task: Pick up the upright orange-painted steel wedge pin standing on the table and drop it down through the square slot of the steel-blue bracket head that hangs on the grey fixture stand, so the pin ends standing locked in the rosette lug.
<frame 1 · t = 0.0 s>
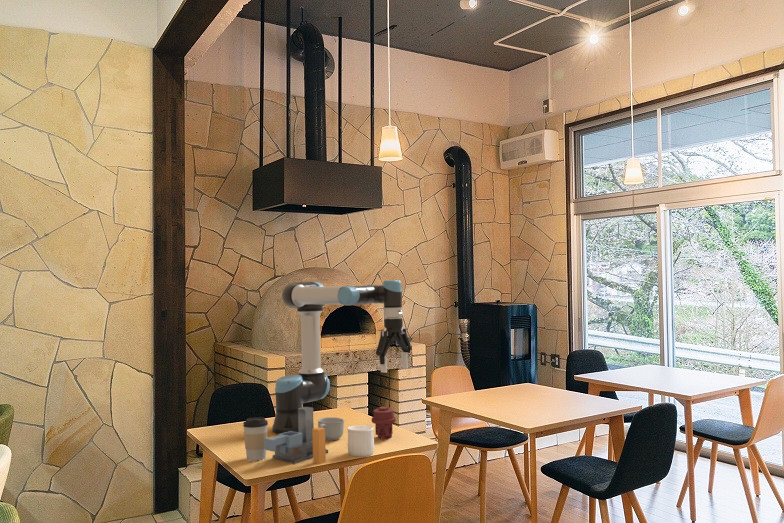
hand: (394, 370, 260), 28 cm above the table, fingers open, 13 cm apart
wedge pin: (319, 462, 230), on the table
grey fixture stand: (306, 453, 241), on the table
cup: (361, 454, 240), on the table
mechanical component: (384, 438, 263), on the table
coffee cup: (256, 459, 236), on the table
teacup: (328, 440, 262), on the table
bracket: (283, 444, 232), point 6 cm above the table
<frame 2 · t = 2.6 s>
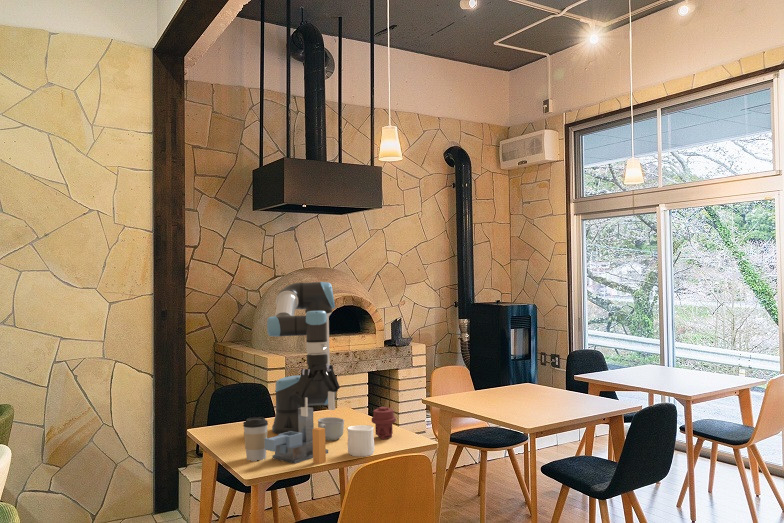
hand: (318, 412, 230), 18 cm above the table, fingers open, 13 cm apart
nothing on the table moved.
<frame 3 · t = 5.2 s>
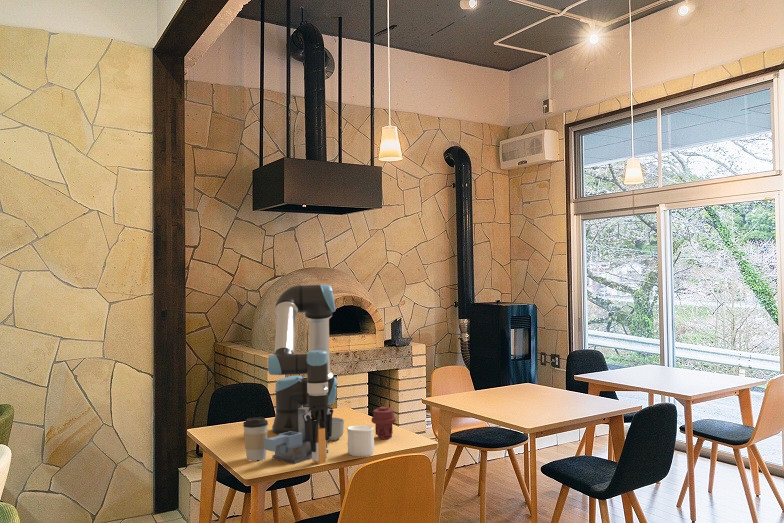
hand: (319, 459, 230), 1 cm above the table, fingers closed on wedge pin, 3 cm apart
wedge pin: (319, 462, 230), on the table, touching gripper
everything else where it was.
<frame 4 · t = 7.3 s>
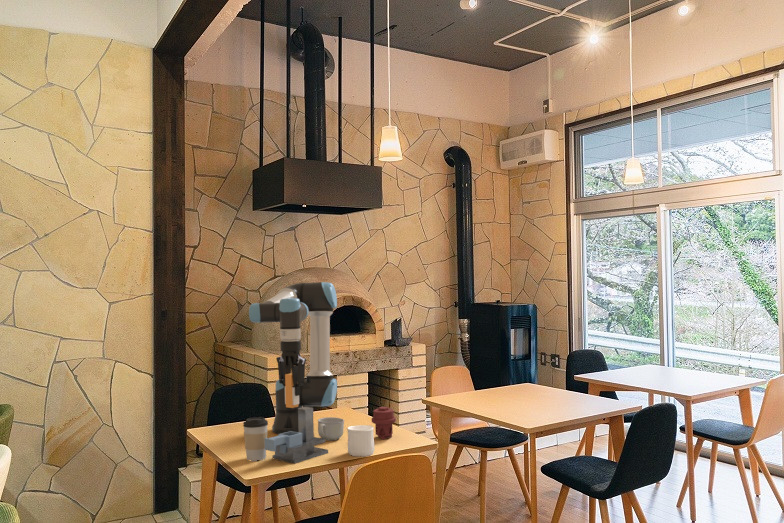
hand: (292, 403, 235), 20 cm above the table, fingers closed on wedge pin, 3 cm apart
wedge pin: (292, 406, 235), point 19 cm above the table, touching gripper
everything else where it was.
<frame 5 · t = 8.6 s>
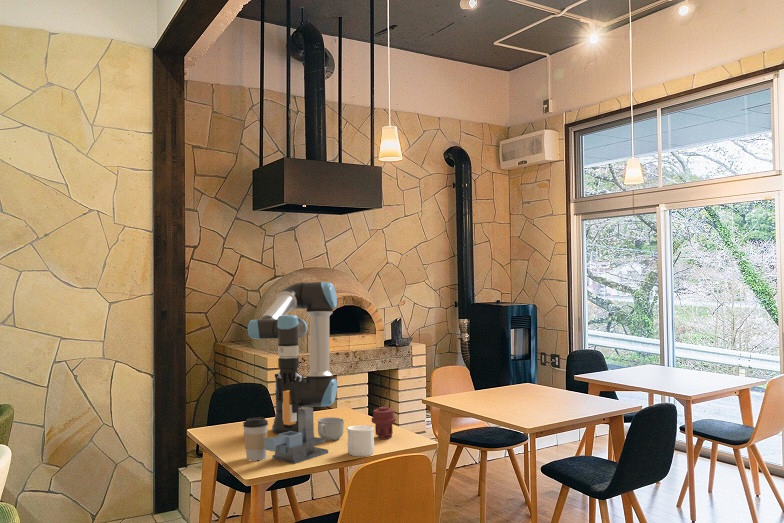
hand: (289, 420, 235), 14 cm above the table, fingers closed on wedge pin, 3 cm apart
wedge pin: (289, 423, 235), point 13 cm above the table, touching gripper
everything else where it was.
when the fingers open (11 cm above the table, at t = 9.7 s): wedge pin drops 9 cm, resting on grey fixture stand.
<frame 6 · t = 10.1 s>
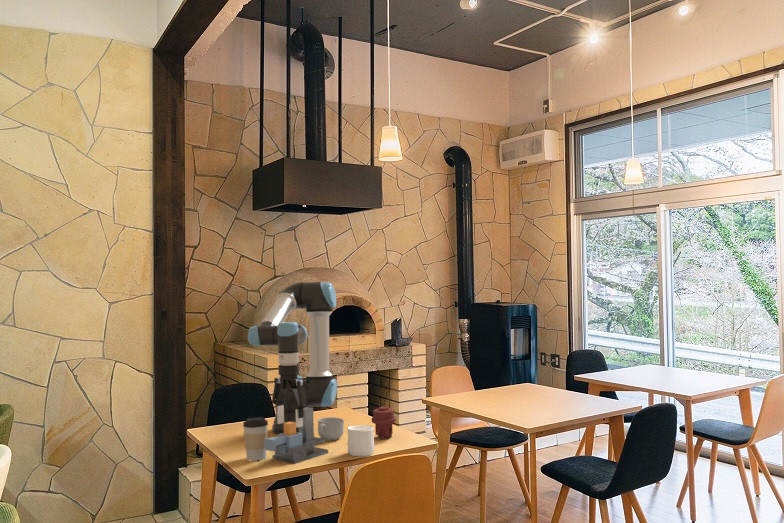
hand: (289, 424, 235), 12 cm above the table, fingers open, 9 cm apart
wedge pin: (290, 455, 235), point 1 cm above the table, touching grey fixture stand
everything else where it was.
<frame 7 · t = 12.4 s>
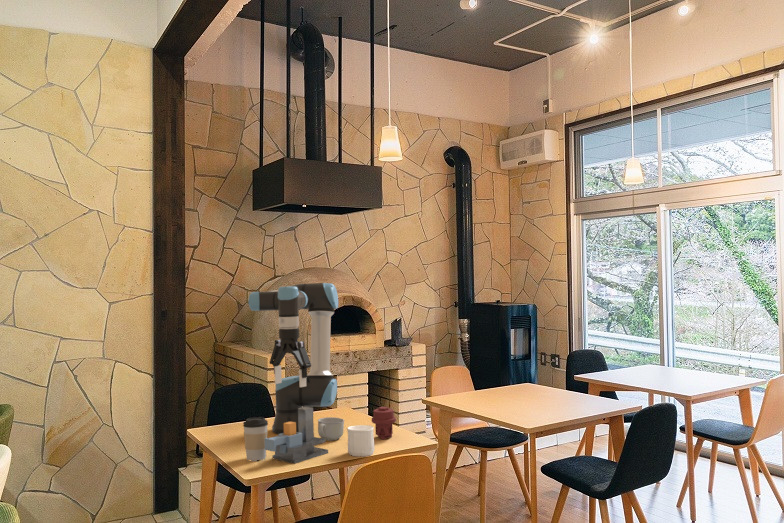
hand: (290, 385, 238), 27 cm above the table, fingers open, 13 cm apart
nothing on the table moved.
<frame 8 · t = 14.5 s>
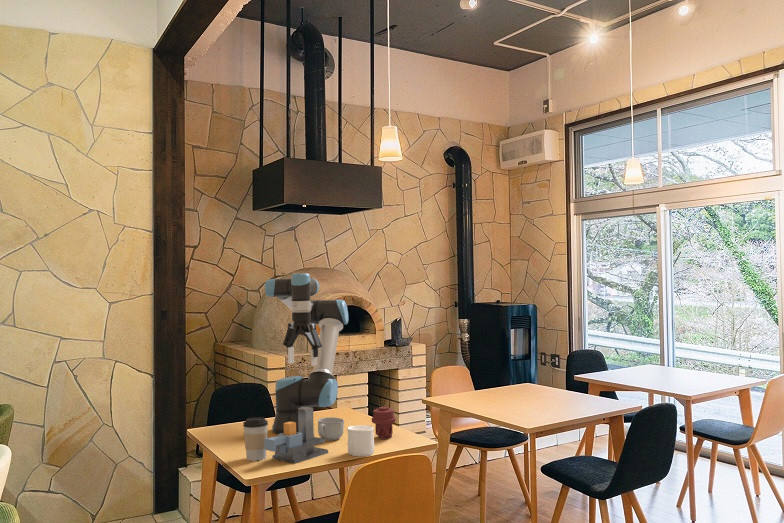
hand: (302, 364, 257), 32 cm above the table, fingers open, 13 cm apart
nothing on the table moved.
at the end: wedge pin 0.0 cm from the target spot on the grey fixture stand, point 1.2 cm above the grey fixture stand's base; wedge pin tilted 0°; the gripper is holding nothing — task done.
